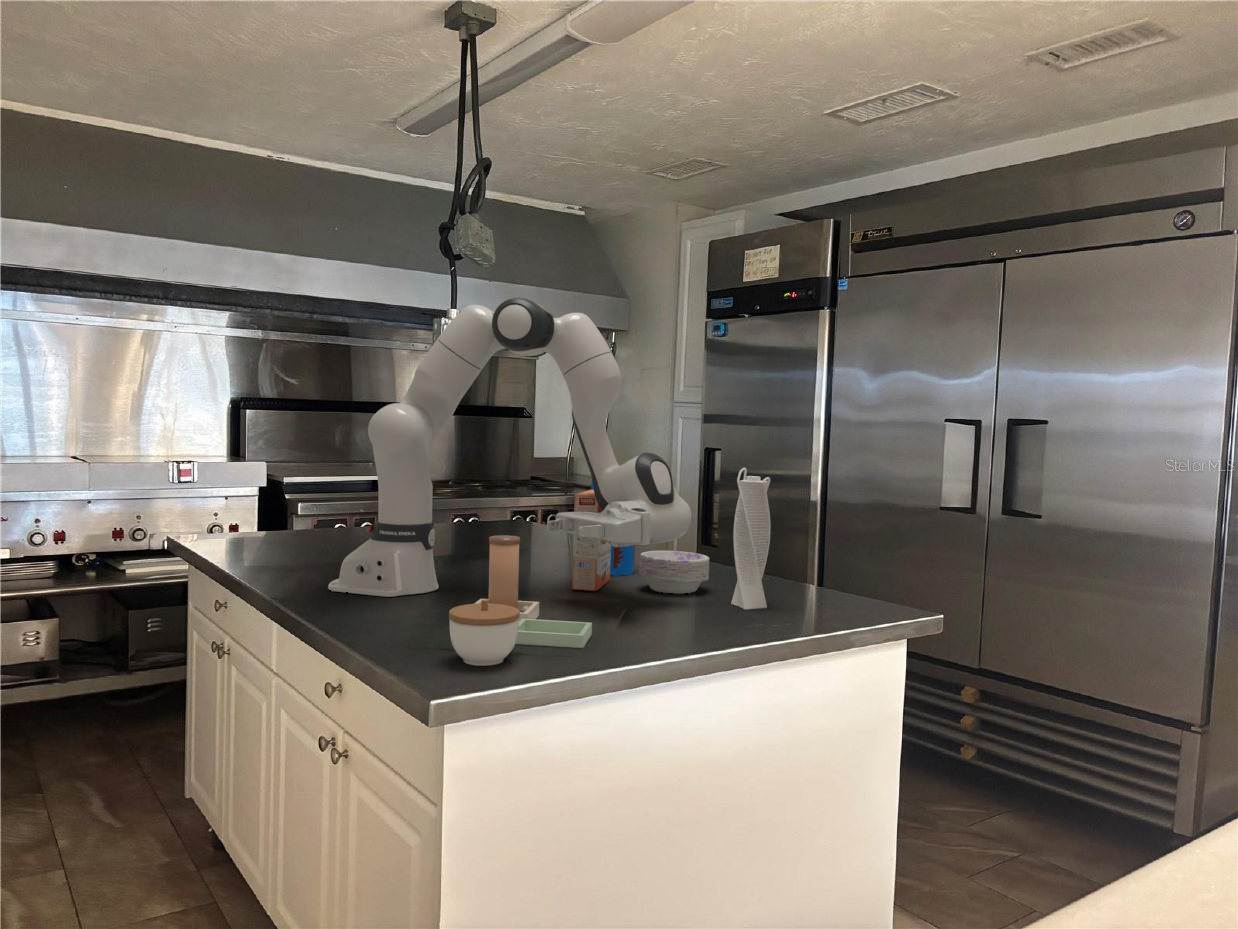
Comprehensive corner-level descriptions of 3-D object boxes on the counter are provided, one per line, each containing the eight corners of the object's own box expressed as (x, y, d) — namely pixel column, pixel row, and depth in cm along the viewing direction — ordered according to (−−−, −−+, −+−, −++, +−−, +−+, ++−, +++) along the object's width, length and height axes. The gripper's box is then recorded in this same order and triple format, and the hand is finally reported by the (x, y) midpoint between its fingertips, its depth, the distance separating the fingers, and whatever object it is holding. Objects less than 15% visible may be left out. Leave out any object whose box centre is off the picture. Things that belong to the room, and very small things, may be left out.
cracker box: (598, 592, 193) (600, 494, 192) (571, 591, 194) (572, 493, 193) (612, 580, 207) (613, 489, 205) (586, 579, 208) (588, 488, 207)
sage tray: (509, 649, 145) (509, 631, 145) (521, 636, 154) (522, 618, 154) (582, 654, 144) (583, 635, 144) (591, 640, 153) (591, 622, 153)
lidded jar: (440, 654, 142) (441, 595, 141) (506, 648, 146) (507, 591, 146) (458, 673, 132) (459, 609, 131) (528, 666, 136) (529, 605, 136)
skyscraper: (722, 602, 187) (727, 467, 185) (754, 600, 190) (759, 467, 188) (741, 610, 179) (747, 469, 178) (774, 608, 182) (780, 470, 181)
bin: (400, 626, 159) (401, 606, 158) (420, 614, 168) (420, 595, 168) (526, 634, 156) (527, 614, 156) (538, 620, 166) (539, 602, 166)
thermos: (607, 566, 226) (610, 466, 224) (642, 572, 219) (646, 469, 218) (580, 572, 217) (583, 468, 215) (616, 578, 210) (619, 470, 209)
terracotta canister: (483, 622, 159) (485, 538, 158) (492, 615, 164) (493, 534, 164) (514, 624, 158) (516, 540, 158) (521, 617, 164) (523, 536, 163)
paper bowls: (712, 586, 204) (713, 551, 204) (703, 599, 189) (704, 562, 189) (646, 581, 207) (647, 547, 207) (632, 594, 193) (633, 557, 192)
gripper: (590, 503, 184) (532, 506, 176) (655, 512, 168) (595, 517, 160) (589, 534, 185) (532, 539, 176) (654, 546, 169) (595, 552, 160)
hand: (563, 528), depth 168 cm, fingers open, 8 cm apart
